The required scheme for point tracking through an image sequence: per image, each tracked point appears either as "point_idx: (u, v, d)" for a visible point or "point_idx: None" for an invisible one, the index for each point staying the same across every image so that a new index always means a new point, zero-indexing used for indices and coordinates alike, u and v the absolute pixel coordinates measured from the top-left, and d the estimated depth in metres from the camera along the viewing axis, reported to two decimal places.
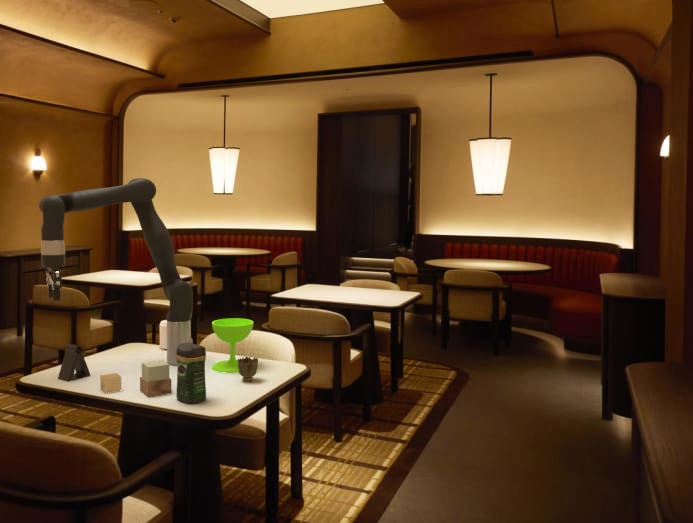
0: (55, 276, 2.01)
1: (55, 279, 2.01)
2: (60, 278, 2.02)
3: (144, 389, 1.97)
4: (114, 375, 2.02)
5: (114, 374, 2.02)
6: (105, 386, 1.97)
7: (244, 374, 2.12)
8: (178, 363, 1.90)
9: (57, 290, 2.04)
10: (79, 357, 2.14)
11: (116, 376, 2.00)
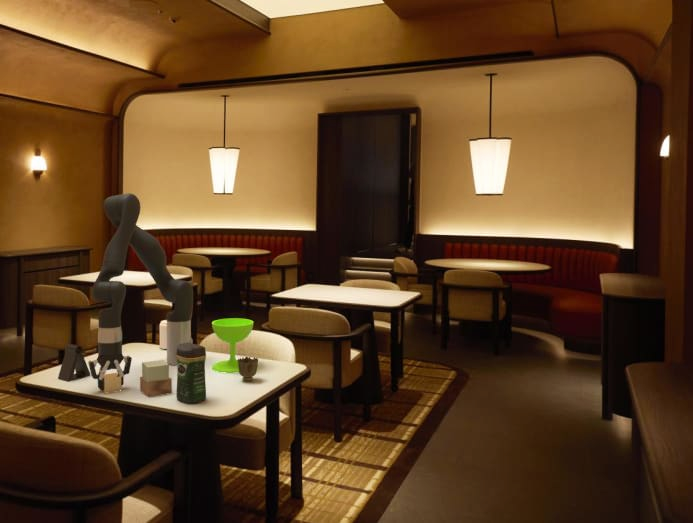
0: None
1: None
2: None
3: (145, 389, 1.97)
4: (114, 374, 2.02)
5: (114, 374, 2.02)
6: (105, 386, 1.97)
7: (244, 374, 2.12)
8: (178, 363, 1.90)
9: None
10: (79, 357, 2.14)
11: (116, 376, 2.00)
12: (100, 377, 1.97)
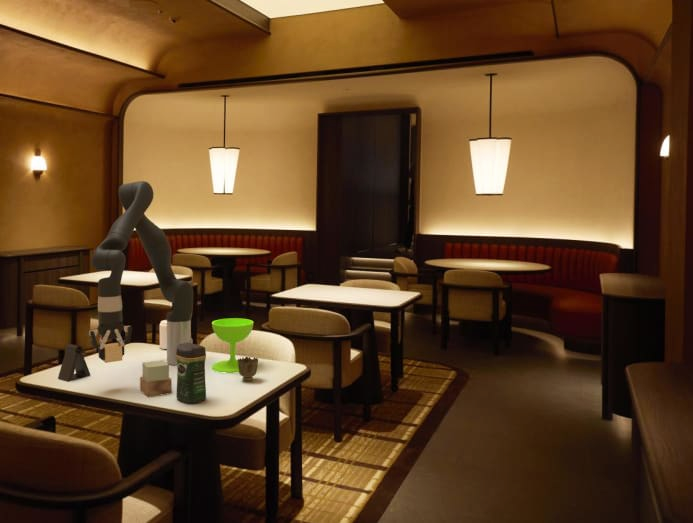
0: None
1: None
2: None
3: (144, 389, 1.97)
4: (115, 344, 2.01)
5: (115, 344, 2.02)
6: (106, 355, 1.96)
7: (244, 374, 2.12)
8: (178, 363, 1.90)
9: None
10: (79, 357, 2.14)
11: (117, 345, 1.99)
12: (101, 346, 1.97)
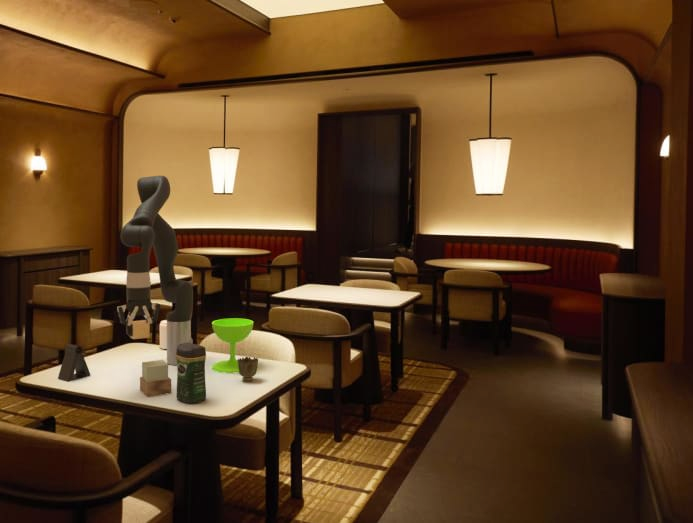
0: None
1: None
2: None
3: (144, 389, 1.97)
4: (142, 321, 1.99)
5: (142, 321, 2.00)
6: (133, 331, 1.95)
7: (244, 374, 2.12)
8: (178, 363, 1.90)
9: None
10: (79, 357, 2.14)
11: (144, 322, 1.98)
12: (129, 323, 1.95)
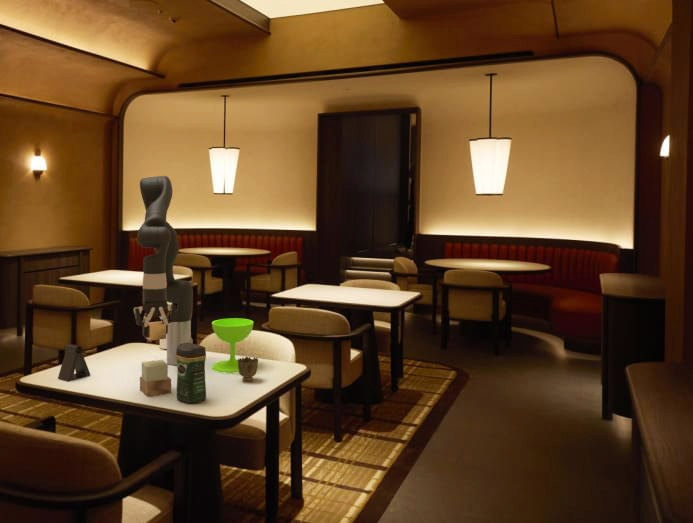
0: None
1: None
2: None
3: (144, 389, 1.97)
4: (158, 322, 1.99)
5: (158, 322, 2.00)
6: (150, 333, 1.95)
7: (244, 374, 2.12)
8: (178, 363, 1.90)
9: None
10: (79, 357, 2.14)
11: (161, 323, 1.98)
12: (145, 324, 1.95)
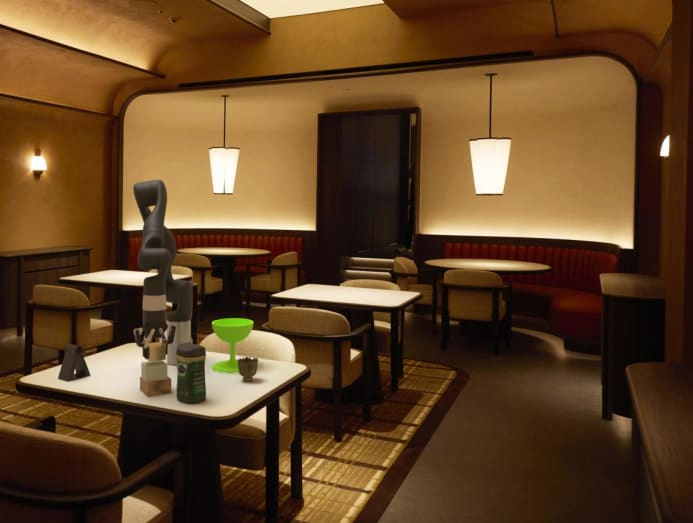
0: None
1: None
2: None
3: (144, 389, 1.97)
4: (158, 343, 2.00)
5: (158, 343, 2.00)
6: (150, 354, 1.95)
7: (244, 374, 2.12)
8: (178, 363, 1.90)
9: None
10: (79, 357, 2.14)
11: (161, 344, 1.98)
12: (145, 345, 1.96)
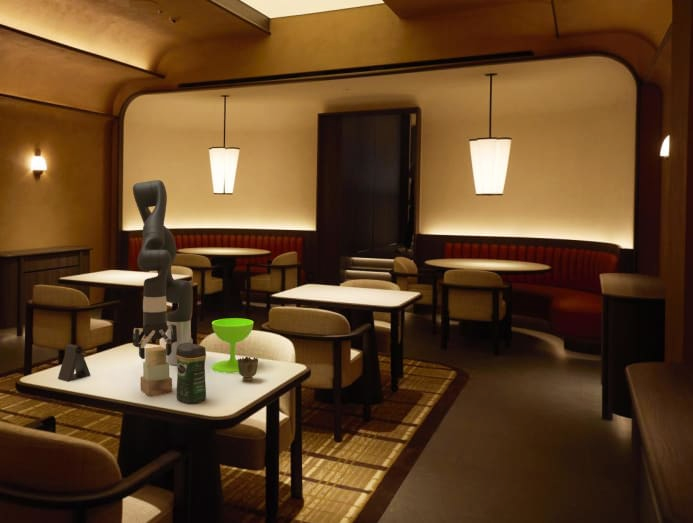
0: None
1: None
2: None
3: (145, 389, 1.97)
4: (159, 348, 2.00)
5: (159, 347, 2.01)
6: (151, 359, 1.96)
7: (244, 374, 2.12)
8: (178, 363, 1.90)
9: None
10: (79, 357, 2.14)
11: (161, 349, 1.99)
12: (142, 345, 1.95)
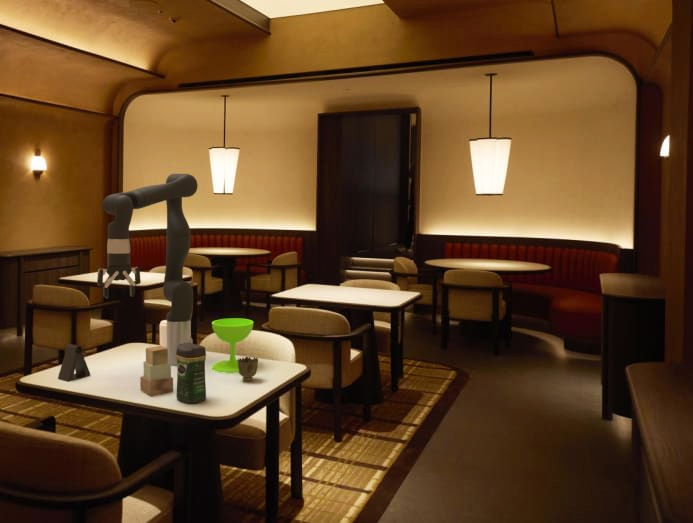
0: None
1: None
2: None
3: (146, 388, 1.97)
4: (159, 347, 2.01)
5: (159, 347, 2.01)
6: (153, 358, 1.96)
7: (244, 374, 2.12)
8: (178, 363, 1.90)
9: None
10: (79, 357, 2.14)
11: (162, 348, 1.99)
12: (105, 285, 2.06)
